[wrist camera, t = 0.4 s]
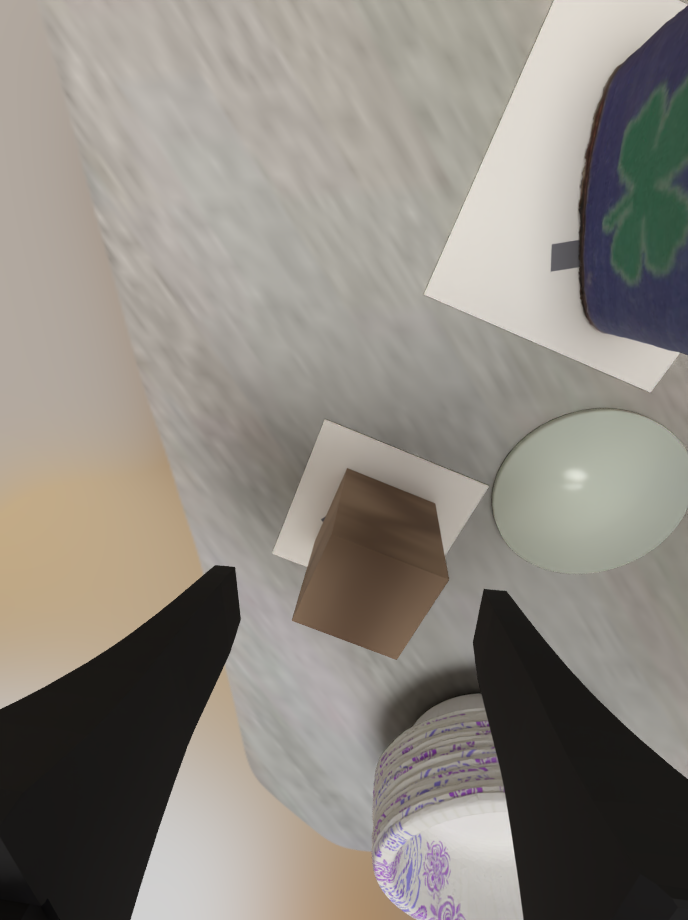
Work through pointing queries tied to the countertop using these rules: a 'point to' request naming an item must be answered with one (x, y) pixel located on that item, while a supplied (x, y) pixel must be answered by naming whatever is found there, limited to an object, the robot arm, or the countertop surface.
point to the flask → (639, 197)
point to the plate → (591, 491)
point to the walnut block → (373, 566)
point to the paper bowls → (445, 819)
